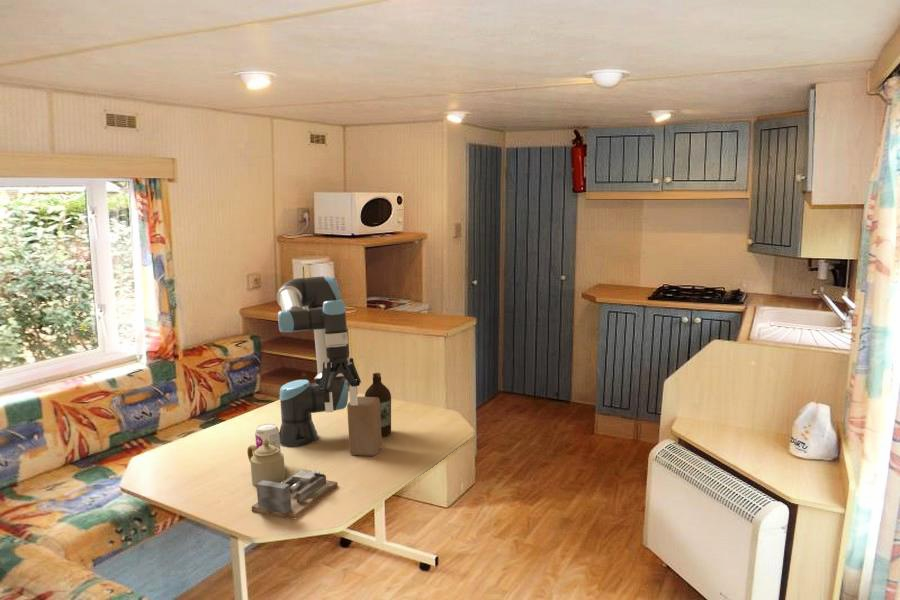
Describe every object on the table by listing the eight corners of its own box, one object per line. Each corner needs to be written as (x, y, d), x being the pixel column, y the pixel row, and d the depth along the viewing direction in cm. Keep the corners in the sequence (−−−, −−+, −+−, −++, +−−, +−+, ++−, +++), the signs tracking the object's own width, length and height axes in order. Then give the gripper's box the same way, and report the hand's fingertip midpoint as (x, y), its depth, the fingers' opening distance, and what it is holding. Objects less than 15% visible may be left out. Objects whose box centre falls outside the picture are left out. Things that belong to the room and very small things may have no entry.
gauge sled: (283, 494, 217) (282, 480, 216) (303, 480, 227) (302, 467, 226) (311, 499, 213) (310, 484, 212) (330, 484, 223) (329, 471, 222)
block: (374, 457, 249) (372, 404, 246) (349, 455, 251) (346, 403, 248) (382, 446, 259) (380, 396, 256) (358, 445, 261) (355, 395, 258)
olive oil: (362, 431, 276) (359, 372, 271) (387, 427, 280) (384, 368, 276) (371, 440, 266) (368, 378, 262) (396, 435, 271) (394, 374, 267)
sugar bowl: (235, 485, 228) (231, 443, 226) (251, 472, 239) (248, 431, 237) (276, 488, 225) (273, 445, 223) (290, 474, 236) (287, 433, 234)
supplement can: (260, 473, 238) (257, 432, 235) (255, 465, 245) (252, 425, 243) (283, 468, 241) (280, 428, 239) (278, 460, 249) (275, 421, 246)
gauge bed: (250, 511, 209) (248, 482, 208) (297, 479, 232) (295, 453, 230) (294, 519, 203) (292, 490, 202) (337, 486, 226) (335, 459, 224)
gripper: (322, 348, 216) (327, 415, 216) (367, 342, 238) (372, 402, 238) (304, 349, 220) (309, 415, 219) (350, 343, 242) (355, 402, 241)
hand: (342, 408), depth 229 cm, fingers open, 13 cm apart
